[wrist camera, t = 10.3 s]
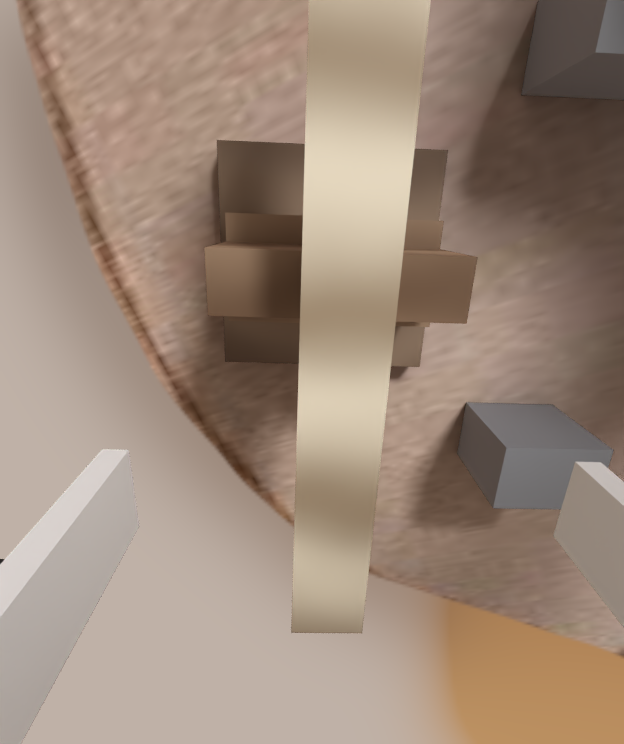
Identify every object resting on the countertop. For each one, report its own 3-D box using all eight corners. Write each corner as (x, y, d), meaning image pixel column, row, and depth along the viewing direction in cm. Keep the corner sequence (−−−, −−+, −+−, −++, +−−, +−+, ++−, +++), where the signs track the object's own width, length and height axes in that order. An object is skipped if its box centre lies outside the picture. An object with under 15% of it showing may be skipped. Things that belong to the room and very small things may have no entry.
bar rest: (537, 1, 21) (624, -80, 15) (654, 8, 21) (782, -70, 15) (457, 453, 30) (493, 508, 24) (539, 455, 30) (594, 510, 24)
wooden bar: (316, -257, 11) (320, -427, 8) (430, -249, 11) (475, -414, 8) (293, 575, 20) (291, 632, 18) (354, 576, 20) (361, 633, 18)
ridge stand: (222, 144, 23) (165, 92, 13) (439, 154, 23) (532, 109, 14) (229, 354, 27) (189, 425, 17) (413, 359, 27) (471, 432, 18)
